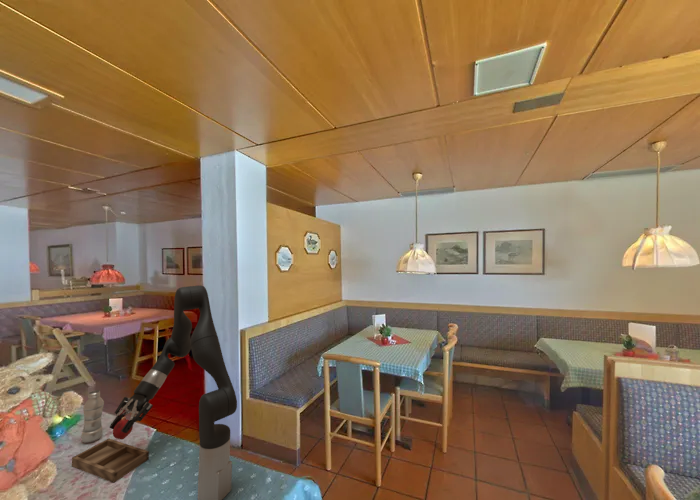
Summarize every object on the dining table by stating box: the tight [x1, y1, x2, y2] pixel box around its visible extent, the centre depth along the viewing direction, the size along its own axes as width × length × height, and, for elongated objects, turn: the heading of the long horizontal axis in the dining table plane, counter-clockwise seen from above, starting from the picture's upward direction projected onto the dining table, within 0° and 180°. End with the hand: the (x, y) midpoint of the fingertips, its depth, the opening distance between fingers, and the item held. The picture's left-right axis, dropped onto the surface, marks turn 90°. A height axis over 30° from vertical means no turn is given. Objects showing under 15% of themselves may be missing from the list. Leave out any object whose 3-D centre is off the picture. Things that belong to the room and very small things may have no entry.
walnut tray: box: [71, 438, 150, 483], centre depth 105 cm, size 23×12×3 cm, turn 71°
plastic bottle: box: [80, 389, 105, 444], centre depth 118 cm, size 6×7×20 cm
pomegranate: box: [112, 416, 134, 440], centre depth 104 cm, size 6×6×8 cm
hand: (117, 430), depth 103 cm, fingers closed on pomegranate, 5 cm apart
